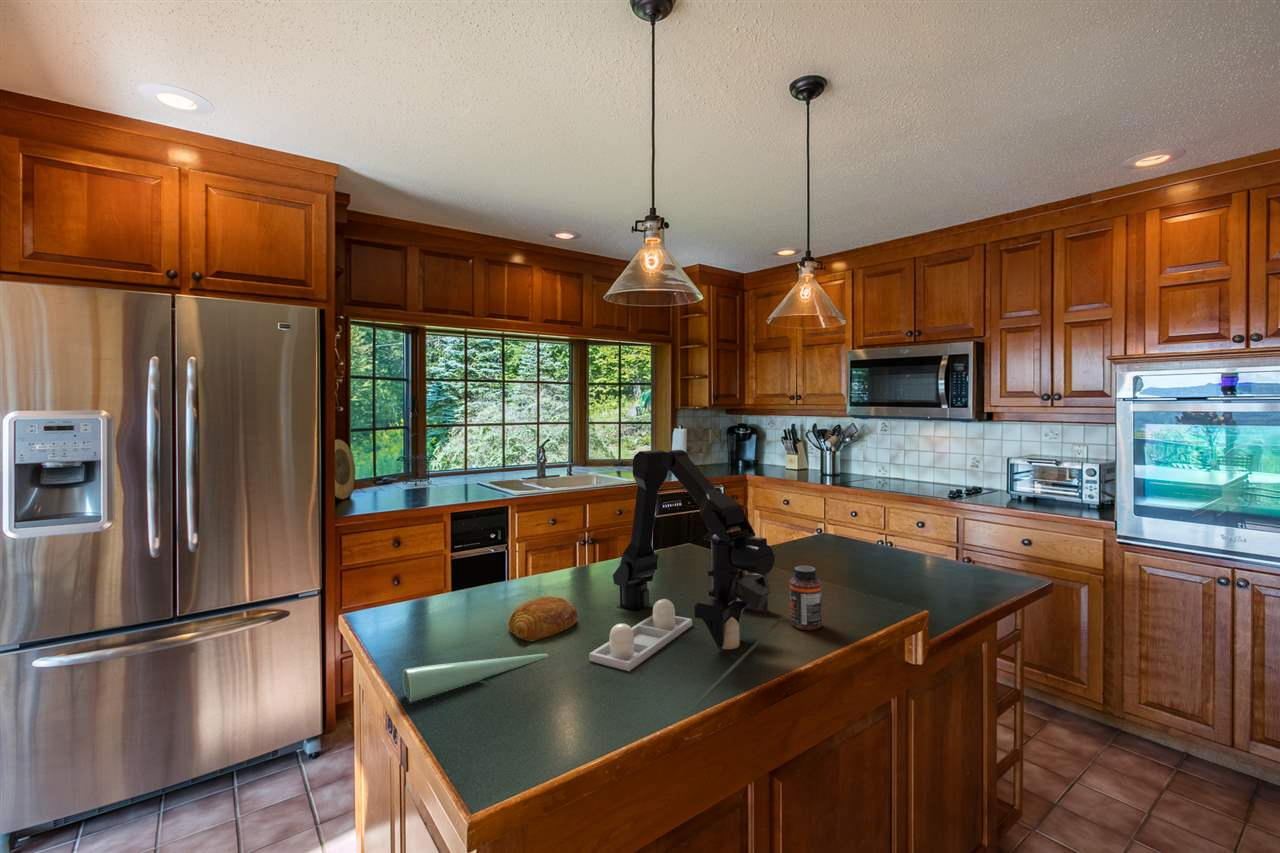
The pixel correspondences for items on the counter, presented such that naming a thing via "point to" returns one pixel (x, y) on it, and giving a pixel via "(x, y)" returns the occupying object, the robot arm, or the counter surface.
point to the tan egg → (731, 634)
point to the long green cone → (457, 674)
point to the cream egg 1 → (622, 642)
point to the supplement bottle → (805, 599)
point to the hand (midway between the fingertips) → (727, 641)
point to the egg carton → (641, 643)
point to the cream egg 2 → (664, 615)
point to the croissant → (542, 618)
